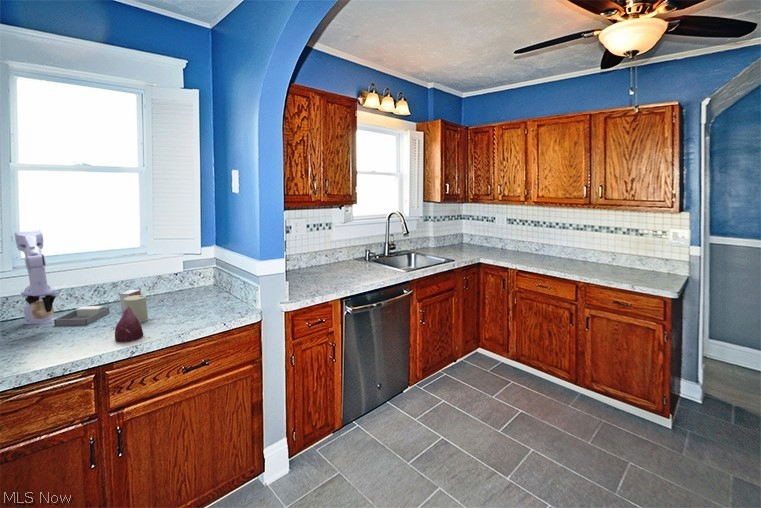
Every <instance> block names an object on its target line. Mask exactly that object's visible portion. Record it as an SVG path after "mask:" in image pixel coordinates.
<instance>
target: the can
mask: <svg viewBox="0 0 761 508" xmlns="http://www.w3.org/2000/svg"><path fill="white" fill-rule="evenodd" d="M124 303H125V309H126V308H127V307H128V306H129V308H131V310H132V312H133V313H134V315H135V316H136V318H137V319H138V320H139V322H140V323H143V322H142V321H144V322H146V321H148V320H149V316H148V307H147V296H146V295H144V294H141V295H134V296H129V297H126V298H124ZM147 319H148V320H147ZM145 320H146V321H145Z"/></svg>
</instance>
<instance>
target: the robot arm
mask: <svg viewBox="0 0 761 508" xmlns="http://www.w3.org/2000/svg"><path fill="white" fill-rule="evenodd" d="M14 238H15V239H14V240H15V243H16V248H17V250H18V251H20V252H23V253H24V262H25V268H26V270H27V274H28V280H29V285H28V286H26V287H25V289H24V291H22V292H20V297H21V298H24V299H25V304H26V305H25V306H24V309H23V315H24V321H25V322H24V325H25V324H26V325H31V324H37V325H38V324H39V325H40V324H48V323H49V322H51V321H54V320H55V319H57V317H53V315H51V316H49V317H47V318H44V319H33V315H32V309H31V303H34V302H36V301H39V300H43V302H44V304H45V309H46V312H50V311H51V310H52V305H53V303H54V302H55V299H56V297H58V296H60V291H59V290H52V287H51V286H50V284H48V280H47V273H46V272H47V271H46V265H47V264H46V258H45V255H44V253H42V249H44V236H43V232H42V230H31V231H15V232H14Z"/></svg>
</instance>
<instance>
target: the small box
mask: <svg viewBox="0 0 761 508" xmlns="http://www.w3.org/2000/svg"><path fill="white" fill-rule="evenodd" d="M141 292H142V291H141V290H140V289H129V290H127V291H123V292H120V293H119V299H120V300H119V302H120V310H121V311H120V312H121V313H124V311H125V303H124V298H126V297H129V296H134V295H142V293H141Z"/></svg>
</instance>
